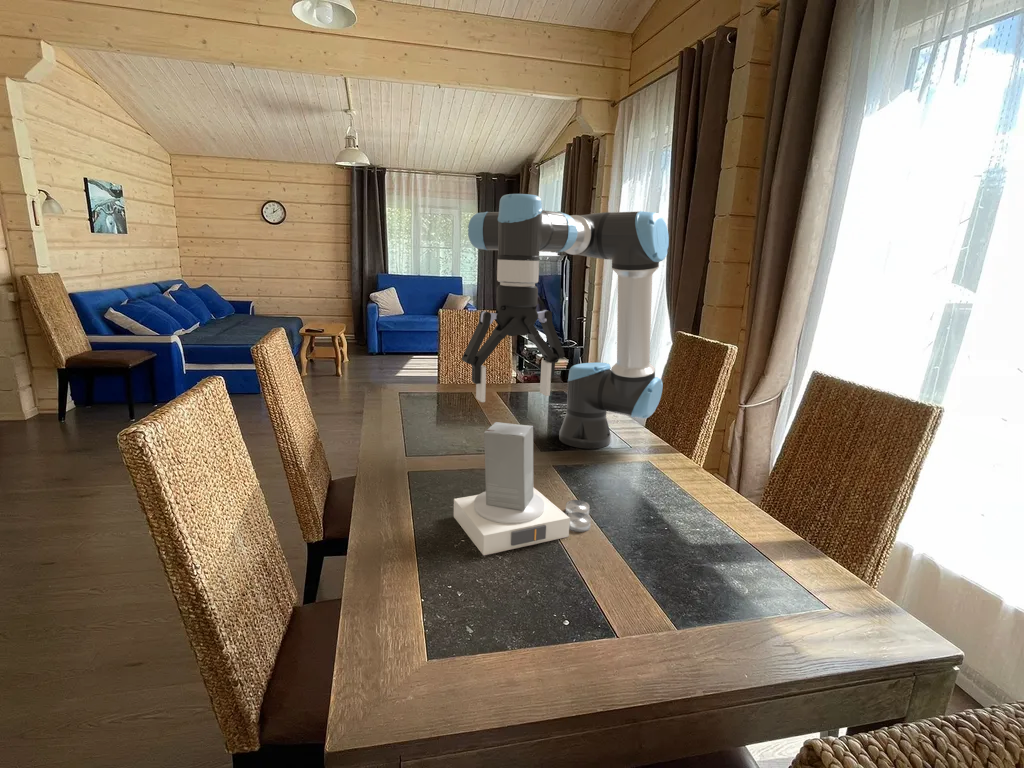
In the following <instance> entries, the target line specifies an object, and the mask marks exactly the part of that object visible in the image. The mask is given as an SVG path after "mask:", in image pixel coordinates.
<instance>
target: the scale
mask: <svg viewBox="0 0 1024 768" xmlns="http://www.w3.org/2000/svg"><path fill="white" fill-rule="evenodd" d="M453 518H454V519H455V521H456V522H457V523H458V525H460V526H461V528H462V529H463V531H464V532H465V534H466V535H467V536H468V537H469V540H471V542H472V543H473V544H474V545H475V547H477V549H478V550H479V551H480V554H482V556H488V555H492V554H496V553H501V552H506V551H509V550H514V549H519V548H523V547H528V546H533V545H537V544H541V543H542V544H543V543H546V542H550V541H551V542H552V541H554V540H559V539H563V538H564V539H565V538H568V537H570V530H569V524H570V518H569V517H568V516H567V514H566V512H564V511H563V510H561V509H560V508H559V507H558V506H556V505H555V504H554V503H553V502H552V501H550V499H548V498H547V497H546V496H545V495H544V494H542V492H540V491H539V490H538V489H536V488H535V487H534V486H533V498H532V500H531V501H530V502H529V504H528V505H527V507H526V508H525V510H517V509H511V508H504V507H498V506H491V505H486V490H485V491H482V492H481V493H479V494H475V495H469V496H463V497H456V498H453Z"/></svg>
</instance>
